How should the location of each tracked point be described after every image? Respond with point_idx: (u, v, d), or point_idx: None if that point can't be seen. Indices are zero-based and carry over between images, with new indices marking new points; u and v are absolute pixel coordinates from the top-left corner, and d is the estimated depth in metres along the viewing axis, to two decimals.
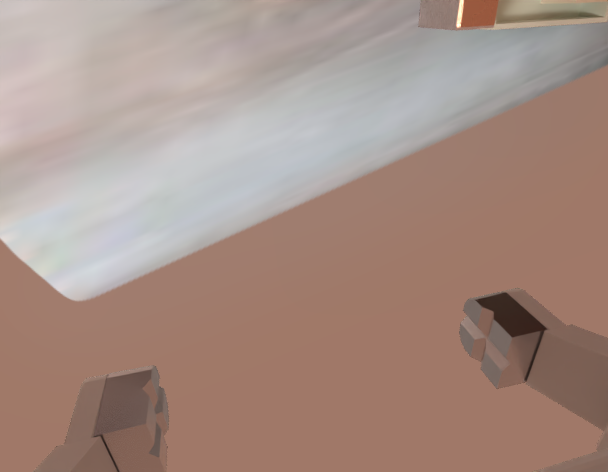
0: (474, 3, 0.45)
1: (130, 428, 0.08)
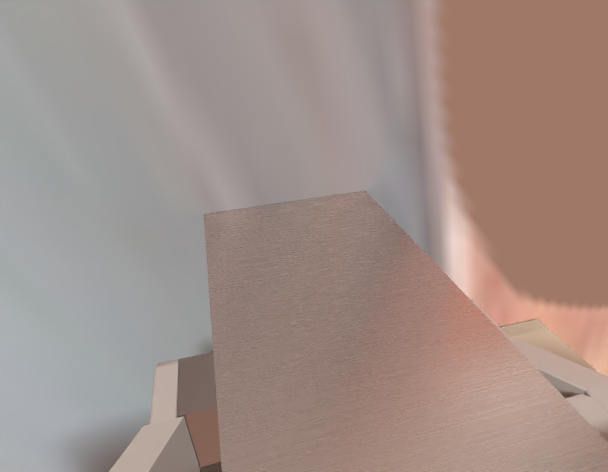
0: None
1: (210, 409, 0.08)
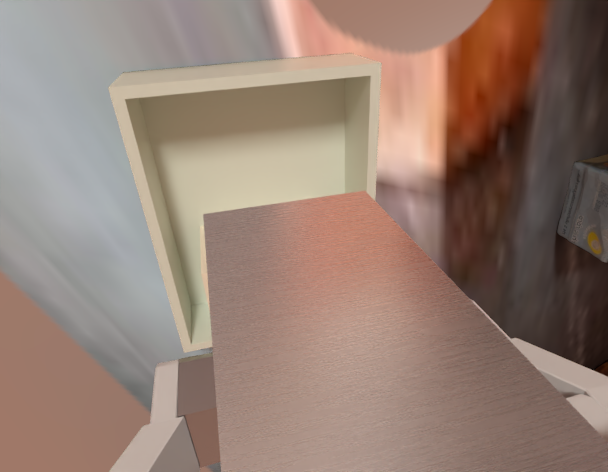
0: None
1: (210, 409, 0.08)
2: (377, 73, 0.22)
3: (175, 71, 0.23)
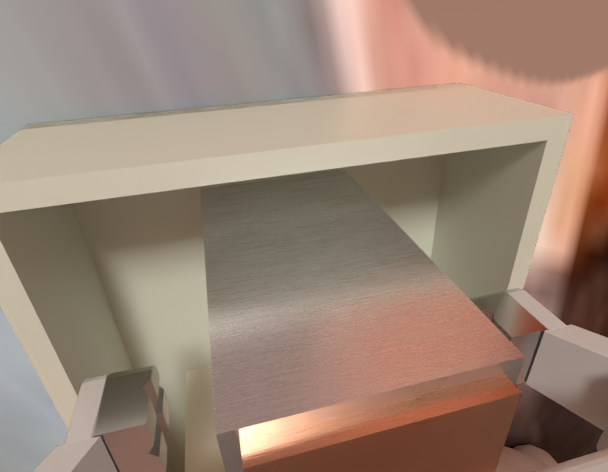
0: None
1: (130, 428, 0.08)
2: (560, 135, 0.10)
3: (130, 126, 0.11)
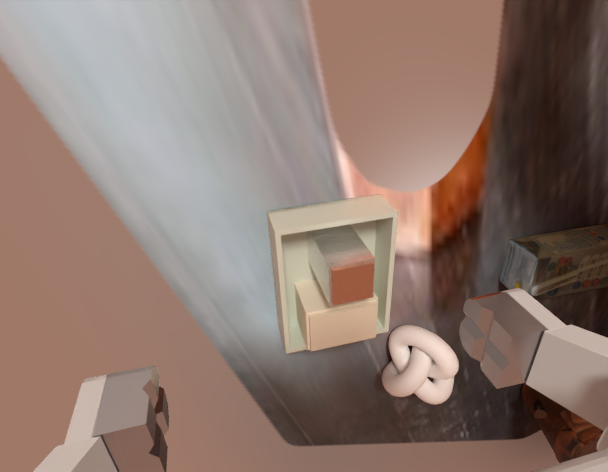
0: (354, 278, 0.41)
1: (130, 428, 0.08)
2: (396, 216, 0.45)
3: (295, 212, 0.45)
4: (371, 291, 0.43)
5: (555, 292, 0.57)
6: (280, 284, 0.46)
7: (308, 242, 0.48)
